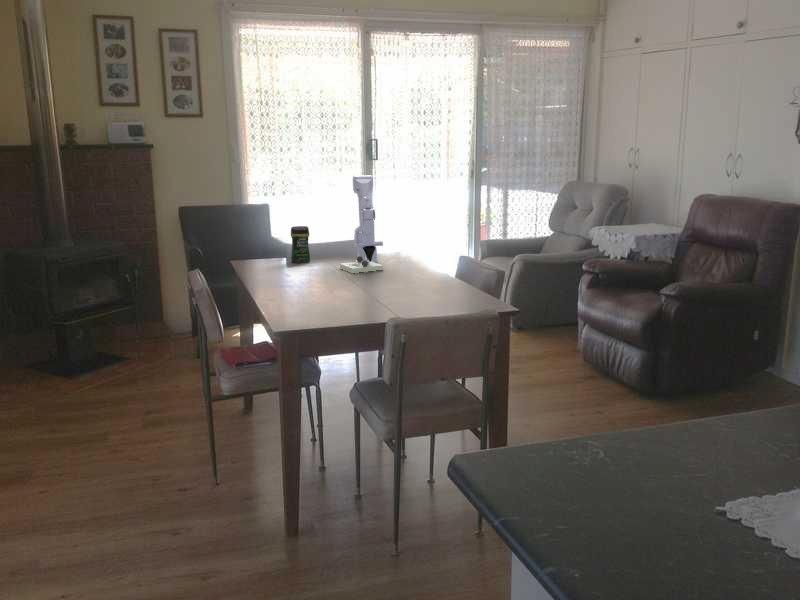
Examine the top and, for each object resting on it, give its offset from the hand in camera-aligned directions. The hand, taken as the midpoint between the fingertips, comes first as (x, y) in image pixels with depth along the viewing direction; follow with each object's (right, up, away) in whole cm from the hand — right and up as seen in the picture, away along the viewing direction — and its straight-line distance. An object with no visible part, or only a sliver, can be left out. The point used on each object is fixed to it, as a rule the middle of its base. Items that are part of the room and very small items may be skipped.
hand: (369, 261), depth 355 cm
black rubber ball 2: (-2, -1, -7) cm, 7 cm away
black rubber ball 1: (-5, +1, +5) cm, 7 cm away
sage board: (-4, -4, -1) cm, 6 cm away
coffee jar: (-36, +1, +21) cm, 42 cm away
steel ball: (-1, 0, 0) cm, 1 cm away
